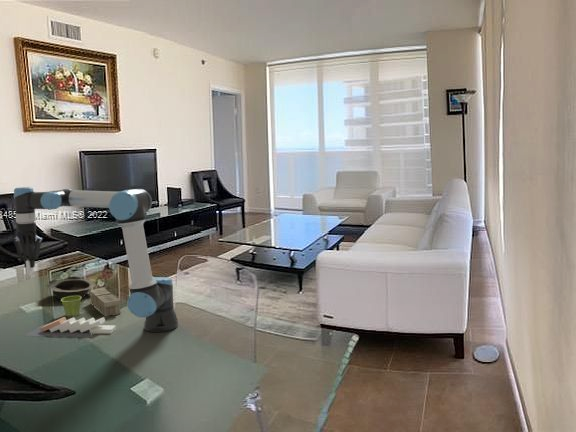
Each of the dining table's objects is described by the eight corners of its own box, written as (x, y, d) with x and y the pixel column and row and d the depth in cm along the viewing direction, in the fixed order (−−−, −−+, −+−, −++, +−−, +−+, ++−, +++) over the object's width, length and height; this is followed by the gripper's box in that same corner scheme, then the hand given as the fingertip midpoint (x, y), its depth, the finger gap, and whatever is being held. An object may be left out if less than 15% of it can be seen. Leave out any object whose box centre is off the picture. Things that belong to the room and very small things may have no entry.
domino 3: (66, 328, 215) (85, 320, 214) (60, 332, 210) (80, 324, 209) (65, 325, 215) (84, 317, 214) (59, 329, 210) (78, 320, 209)
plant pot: (77, 318, 230) (76, 301, 229) (58, 318, 230) (57, 301, 229) (86, 312, 239) (84, 295, 238) (67, 312, 240) (66, 295, 238)
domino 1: (47, 328, 216) (66, 320, 215) (41, 332, 211) (60, 324, 210) (46, 324, 216) (64, 316, 215) (39, 328, 211) (58, 320, 210)
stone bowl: (47, 293, 272) (48, 277, 272) (94, 290, 283) (94, 275, 282) (46, 304, 250) (46, 287, 249) (96, 301, 261) (97, 285, 260)
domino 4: (76, 328, 215) (95, 320, 214) (70, 332, 210) (90, 324, 209) (74, 325, 215) (93, 317, 214) (68, 329, 210) (88, 321, 209)
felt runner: (105, 326, 219) (105, 325, 219) (90, 338, 205) (90, 337, 205) (42, 325, 221) (42, 324, 221) (24, 337, 207) (24, 336, 207)
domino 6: (95, 329, 215) (116, 329, 214) (89, 333, 210) (111, 333, 209) (94, 325, 214) (116, 325, 214) (89, 329, 209) (111, 329, 209)
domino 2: (57, 328, 216) (75, 320, 215) (51, 332, 211) (70, 324, 210) (55, 325, 216) (74, 316, 214) (49, 329, 211) (68, 320, 209)
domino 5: (86, 328, 215) (105, 320, 214) (81, 332, 210) (100, 324, 209) (84, 325, 215) (103, 317, 214) (79, 329, 210) (98, 320, 209)
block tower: (90, 305, 254) (105, 318, 230) (88, 290, 253) (103, 301, 229) (105, 302, 258) (121, 315, 235) (104, 287, 257) (120, 298, 234)
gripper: (45, 221, 211) (49, 272, 214) (17, 221, 211) (21, 272, 214) (35, 223, 203) (39, 276, 206) (6, 223, 204) (11, 276, 207)
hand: (30, 274), depth 210 cm, fingers closed
